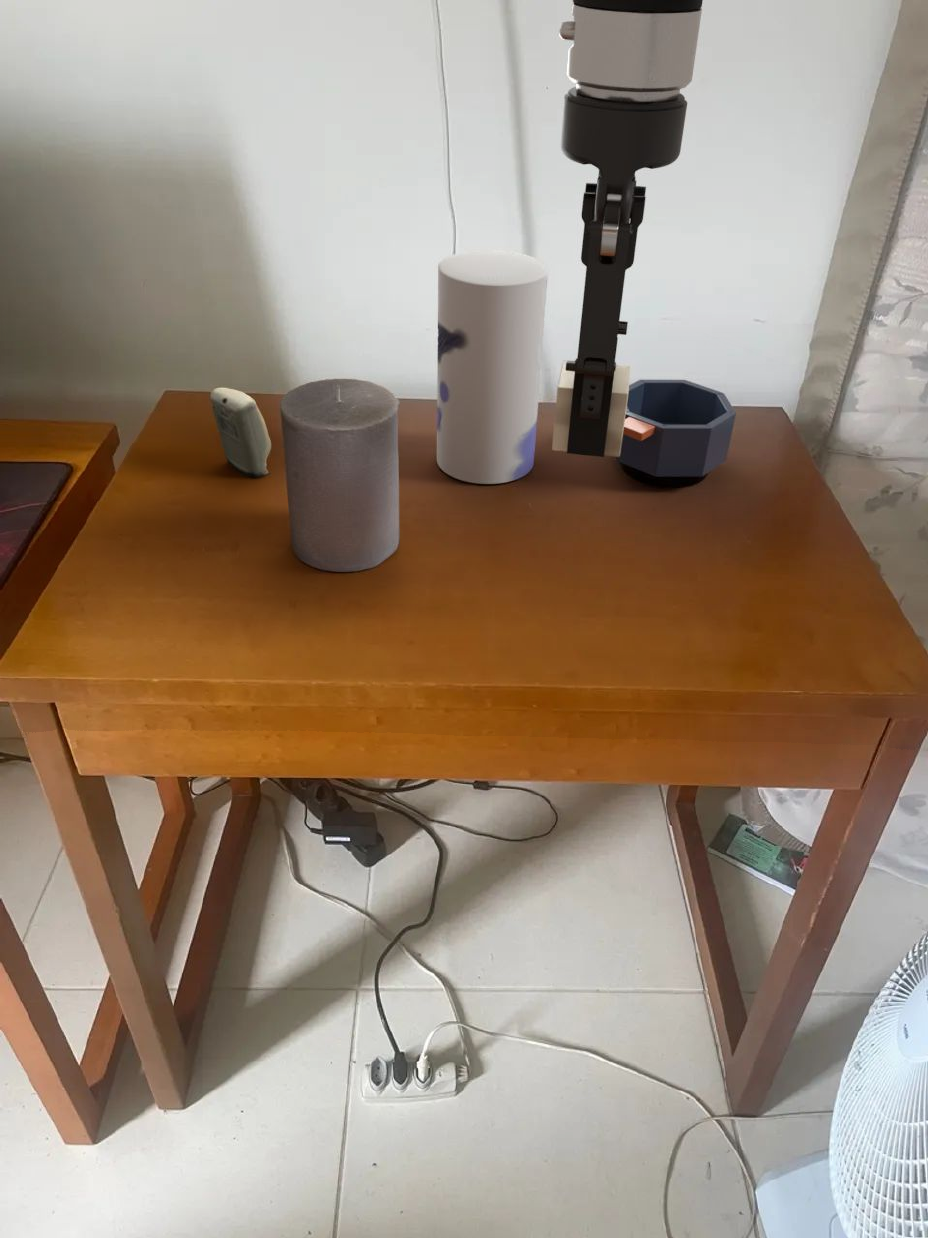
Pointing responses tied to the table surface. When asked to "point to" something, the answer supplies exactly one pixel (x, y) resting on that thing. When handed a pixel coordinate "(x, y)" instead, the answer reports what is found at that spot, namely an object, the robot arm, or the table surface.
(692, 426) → the bowl
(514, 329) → the container
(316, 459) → the pillar candle
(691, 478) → the bowl foot
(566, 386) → the block
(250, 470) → the off-white long rounded piece
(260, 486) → the table surface
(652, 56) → the robot arm
